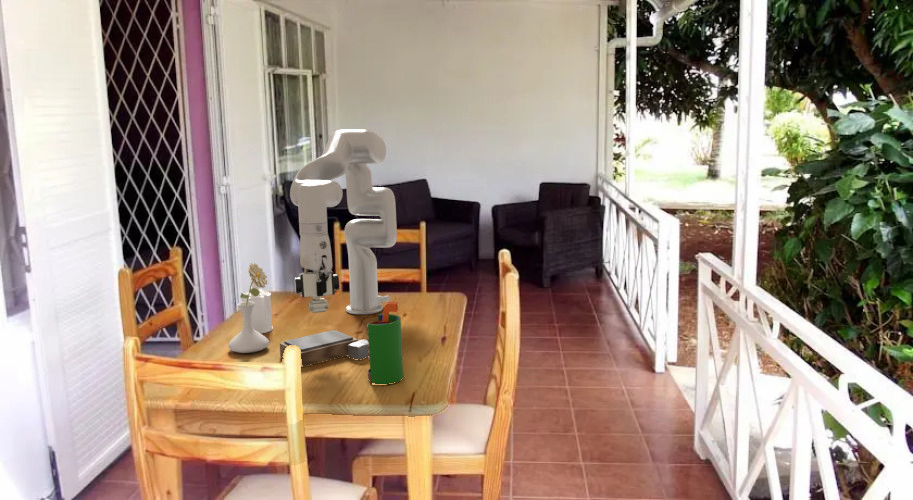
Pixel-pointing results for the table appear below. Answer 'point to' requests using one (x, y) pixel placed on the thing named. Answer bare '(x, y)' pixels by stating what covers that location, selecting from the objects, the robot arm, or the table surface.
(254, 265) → the flower in vase
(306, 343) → the stand
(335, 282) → the pneumatic valve
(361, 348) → the grey rectangular block
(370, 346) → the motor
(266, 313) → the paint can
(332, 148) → the robot arm
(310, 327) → the table surface
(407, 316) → the table surface
